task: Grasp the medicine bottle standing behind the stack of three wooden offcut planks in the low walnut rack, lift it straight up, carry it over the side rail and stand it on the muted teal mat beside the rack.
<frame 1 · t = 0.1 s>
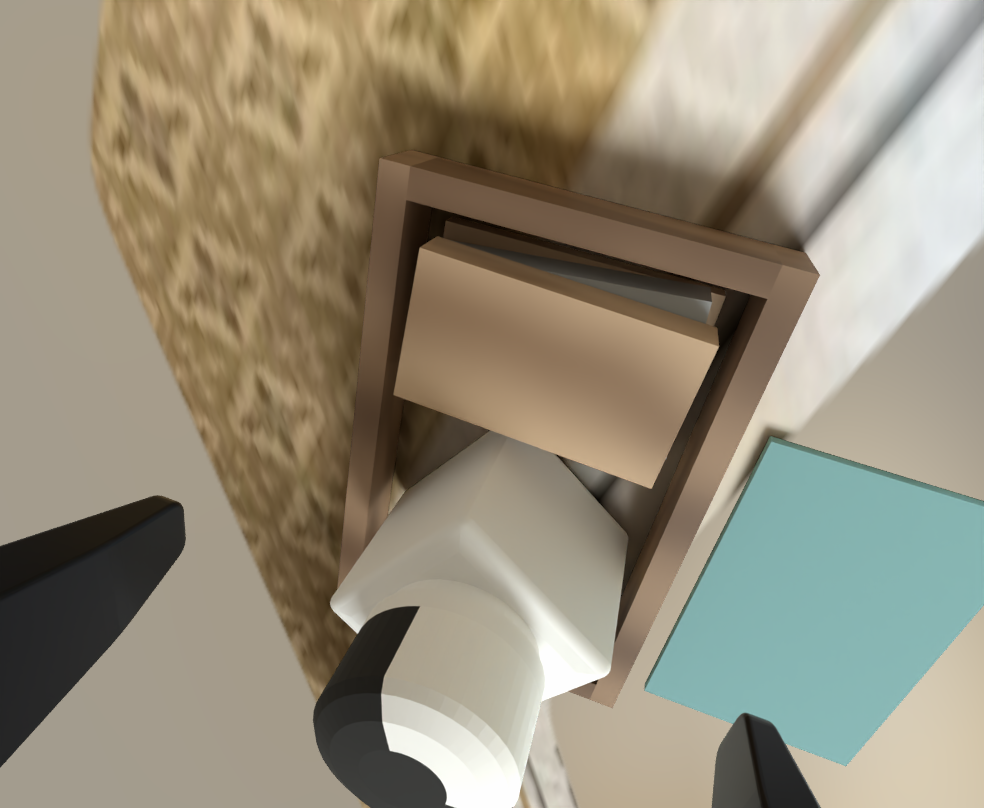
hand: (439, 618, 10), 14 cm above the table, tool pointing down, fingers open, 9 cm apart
teal mat: (811, 615, 25), on the table
middle offcut plank: (559, 340, 22), point 1 cm above the table, touching bottom offcut plank, top offcut plank
offcut rack: (531, 446, 25), on the table
medicine bottle: (514, 509, 27), on the table
top offcut plank: (549, 354, 21), point 2 cm above the table, touching middle offcut plank
bottom offcut plank: (566, 325, 23), on the table, touching middle offcut plank
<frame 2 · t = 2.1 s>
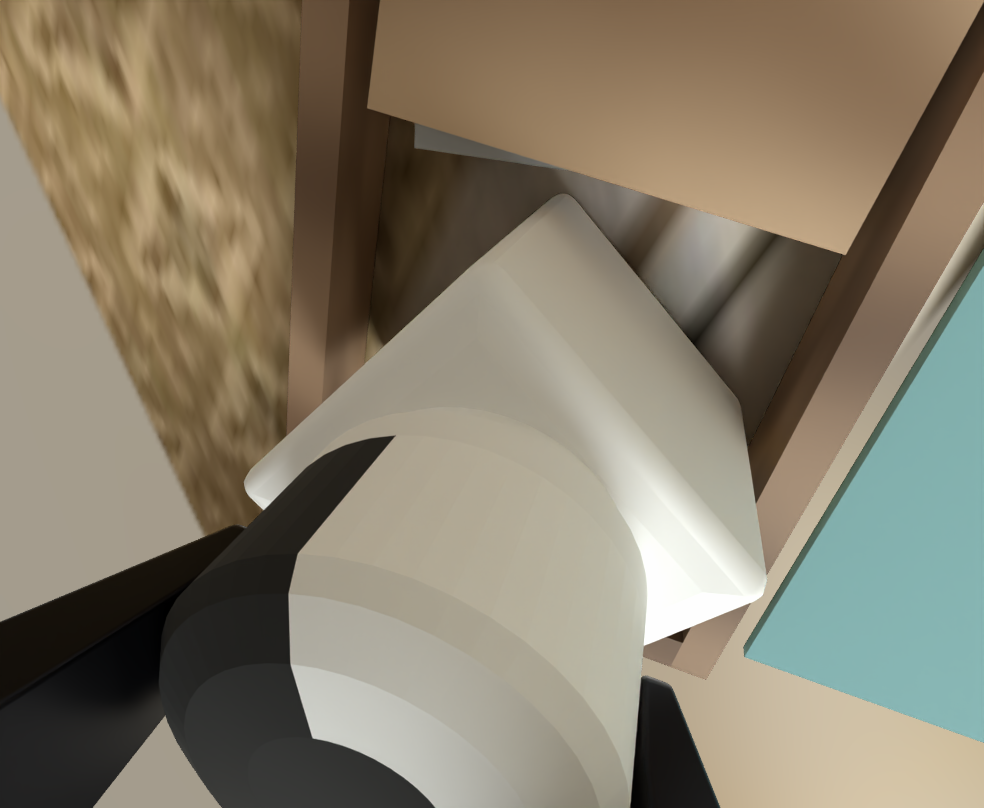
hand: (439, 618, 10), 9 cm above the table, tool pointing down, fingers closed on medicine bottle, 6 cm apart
middle offcut plank: (654, 21, 12), point 1 cm above the table, touching bottom offcut plank, top offcut plank
offcut rack: (586, 253, 15), on the table
medicine bottle: (553, 373, 17), on the table, touching gripper
top offcut plank: (651, 18, 11), point 2 cm above the table, touching middle offcut plank
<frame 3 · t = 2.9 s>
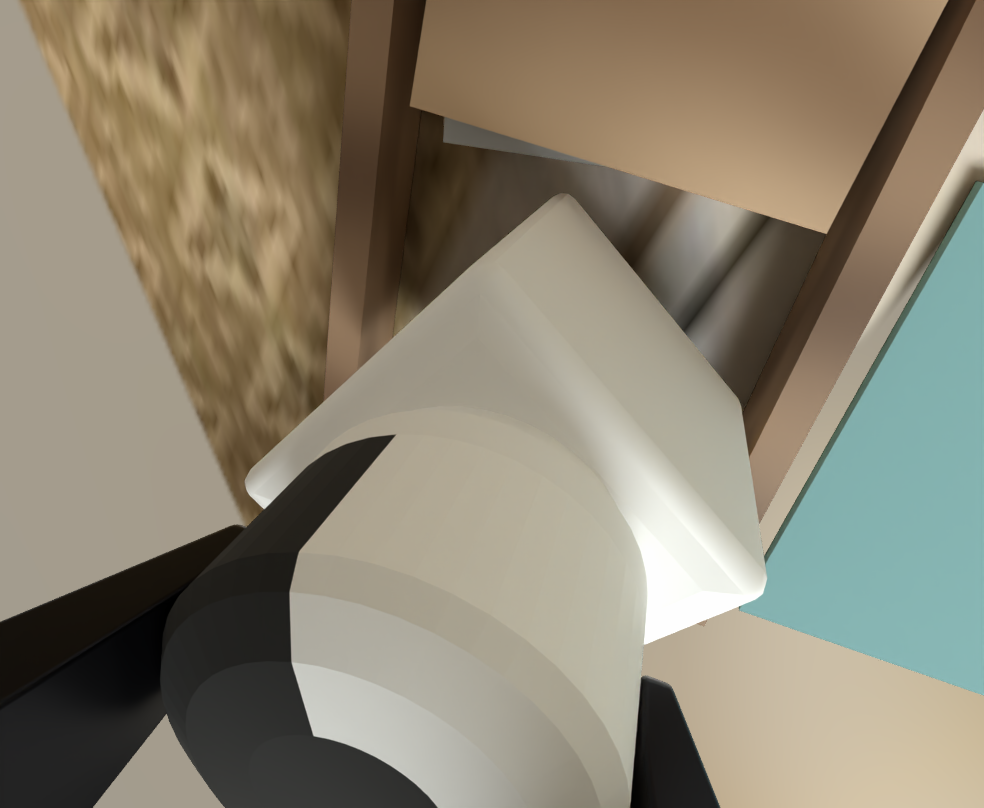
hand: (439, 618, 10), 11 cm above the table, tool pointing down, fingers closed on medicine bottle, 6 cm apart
middle offcut plank: (656, 32, 14), point 1 cm above the table, touching bottom offcut plank, top offcut plank
offcut rack: (596, 238, 17), on the table
medicine bottle: (553, 373, 17), point 2 cm above the table, touching gripper
top offcut plank: (659, 29, 13), point 2 cm above the table, touching middle offcut plank
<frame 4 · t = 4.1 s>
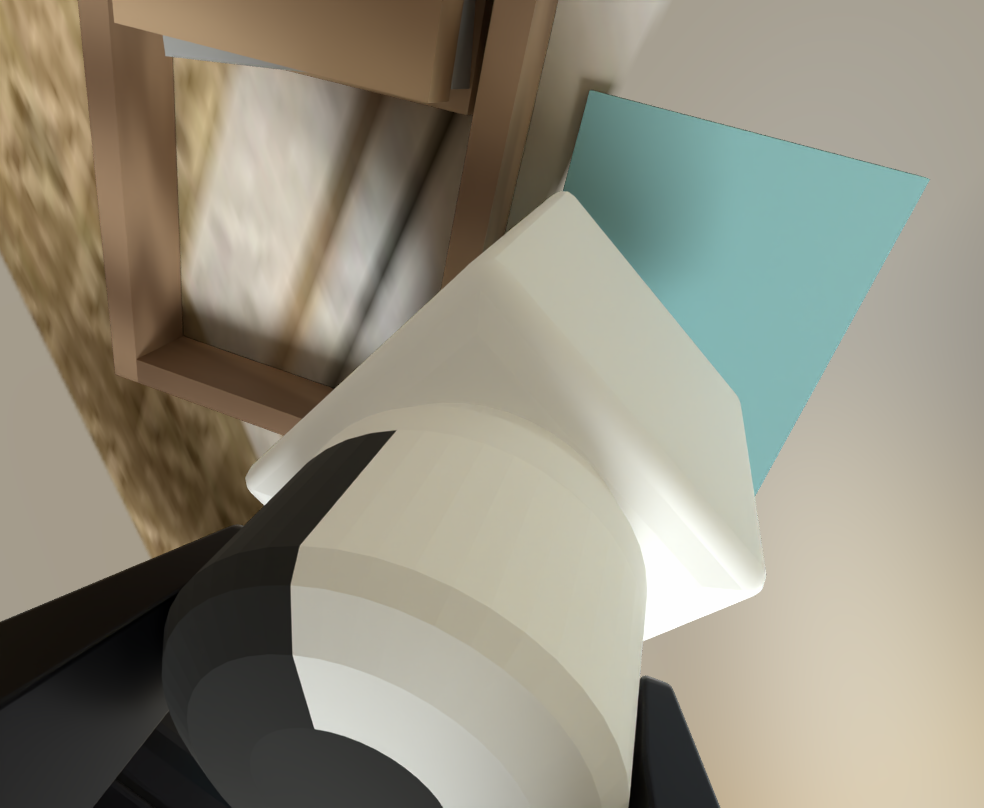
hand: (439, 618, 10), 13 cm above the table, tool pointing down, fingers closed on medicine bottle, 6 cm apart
teal mat: (661, 359, 20), on the table
offcut rack: (322, 145, 20), on the table
medicine bottle: (553, 371, 17), point 4 cm above the table, touching gripper
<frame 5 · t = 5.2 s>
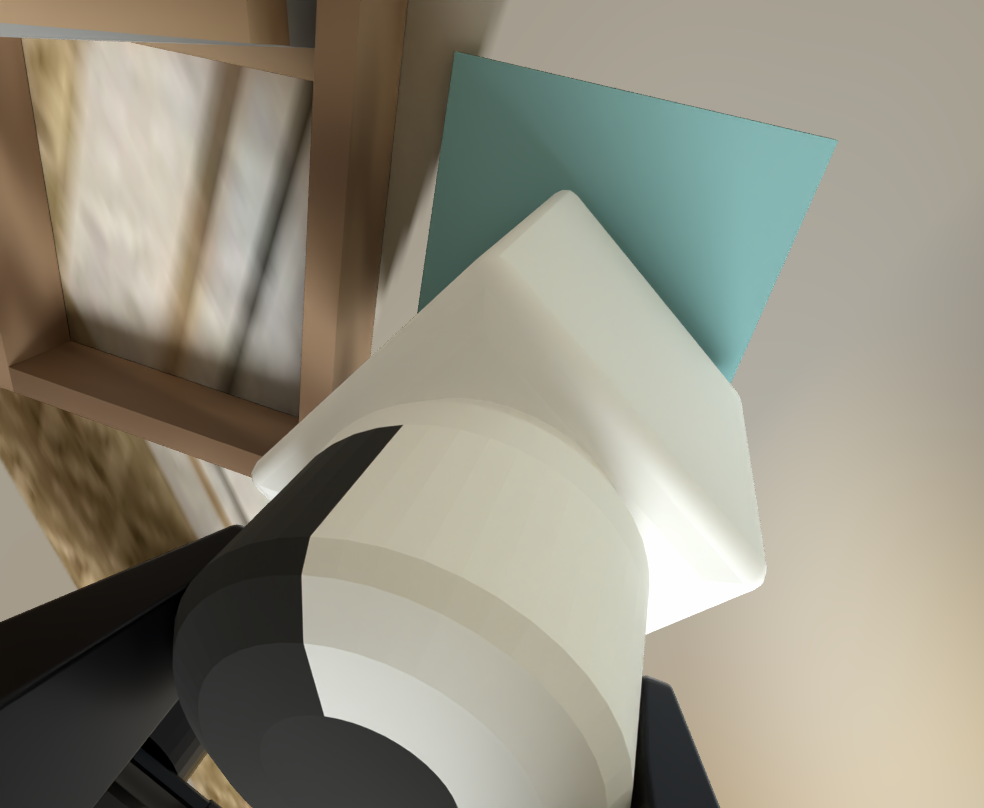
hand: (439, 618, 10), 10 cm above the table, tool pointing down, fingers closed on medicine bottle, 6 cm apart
teal mat: (564, 356, 18), on the table
offcut rack: (184, 127, 18), on the table
medicine bottle: (555, 368, 18), point 1 cm above the table, touching gripper
when the fingers open (10 cm above the table, at t = 5.6 s): medicine bottle stays where it is, resting on teal mat.
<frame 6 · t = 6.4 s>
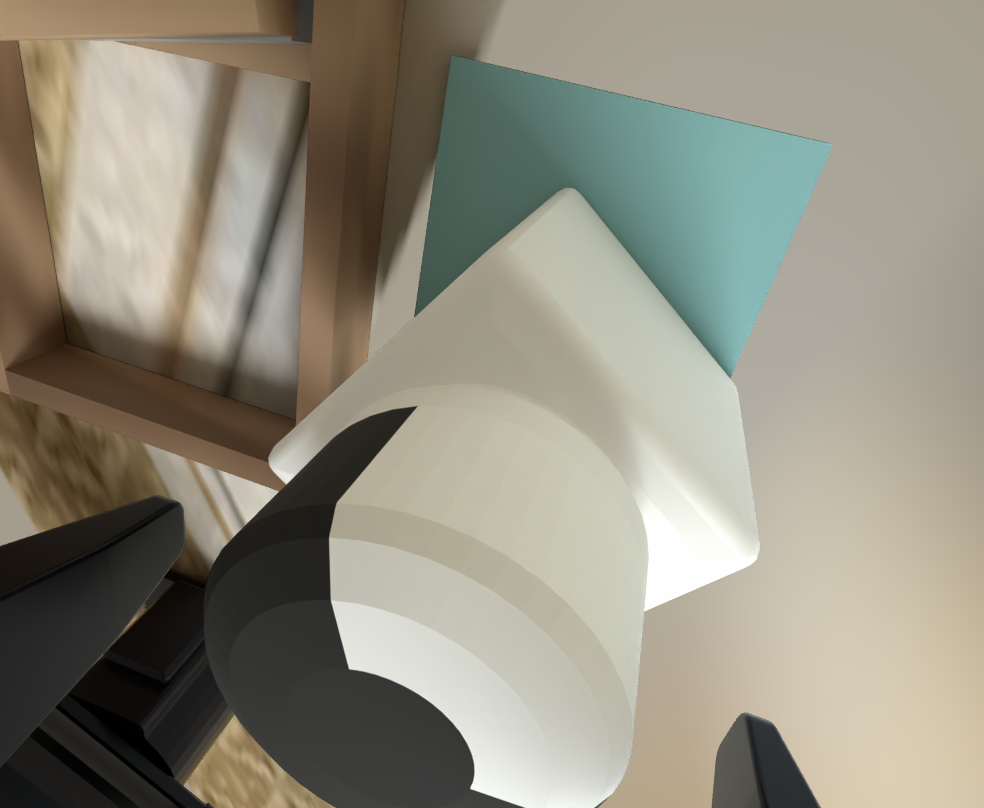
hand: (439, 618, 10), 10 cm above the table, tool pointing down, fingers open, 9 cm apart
teal mat: (561, 358, 18), on the table
offcut rack: (181, 130, 18), on the table
medicine bottle: (558, 361, 18), resting on teal mat
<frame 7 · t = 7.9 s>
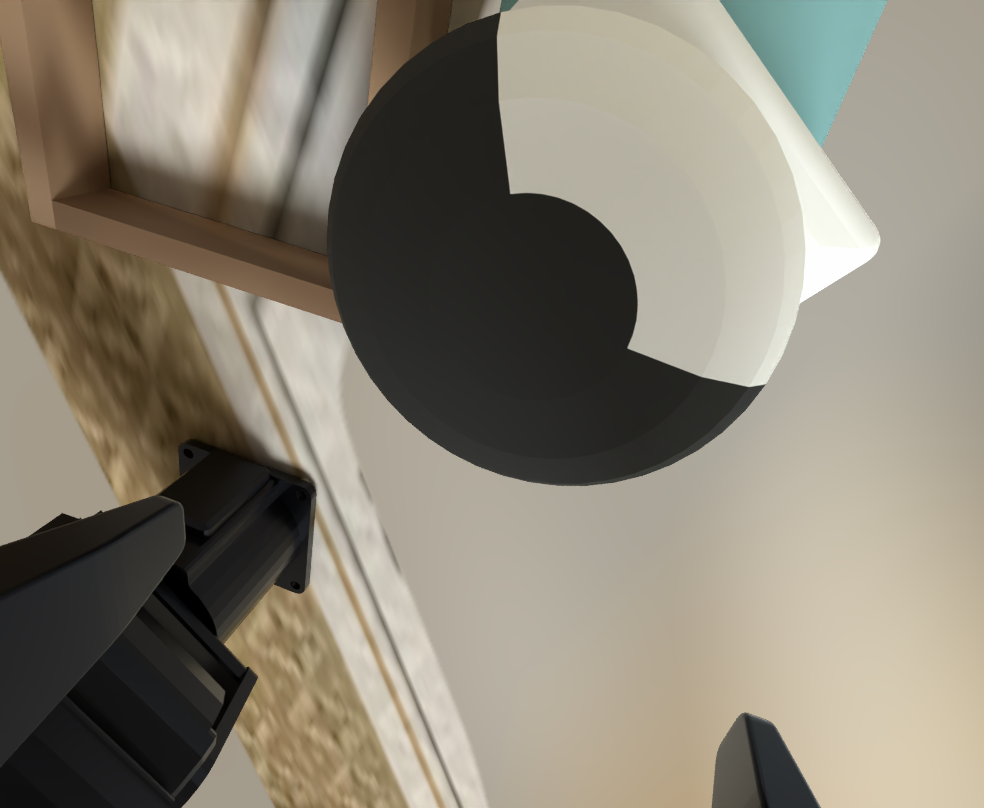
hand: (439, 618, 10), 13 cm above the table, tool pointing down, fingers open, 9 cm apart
teal mat: (630, 169, 18), on the table
medicine bottle: (627, 170, 18), resting on teal mat
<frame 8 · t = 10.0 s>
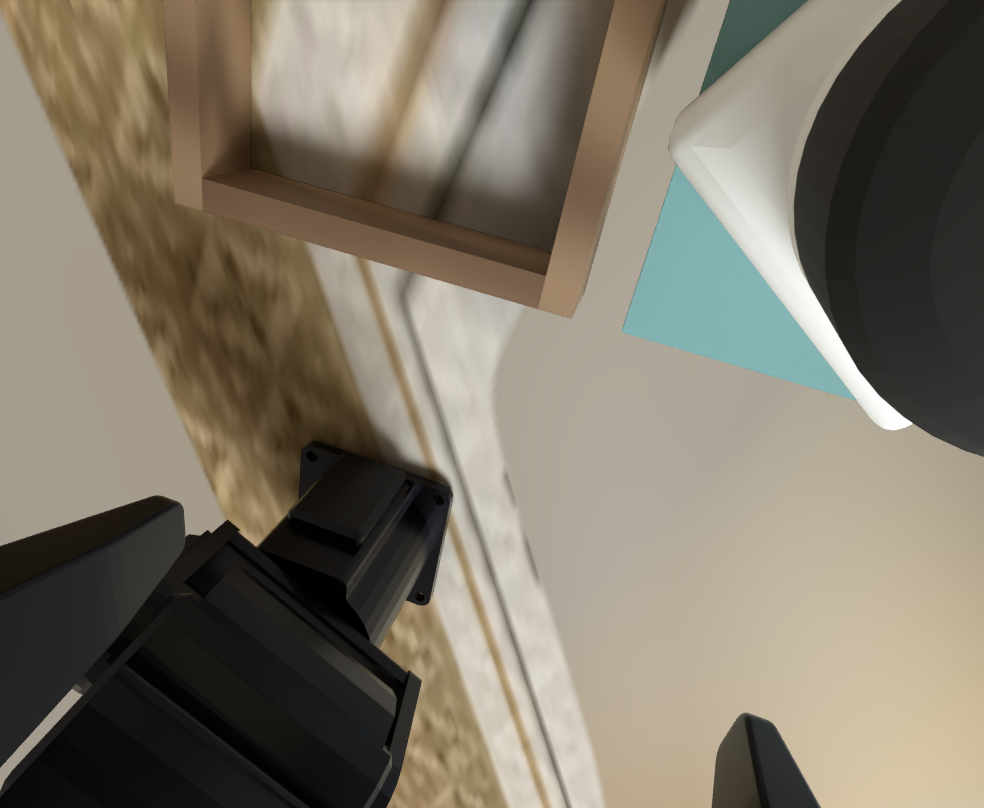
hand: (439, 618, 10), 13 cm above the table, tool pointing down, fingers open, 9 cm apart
teal mat: (874, 129, 16), on the table
medicine bottle: (874, 130, 16), resting on teal mat
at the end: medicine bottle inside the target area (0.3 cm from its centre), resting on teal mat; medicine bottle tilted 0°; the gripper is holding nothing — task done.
